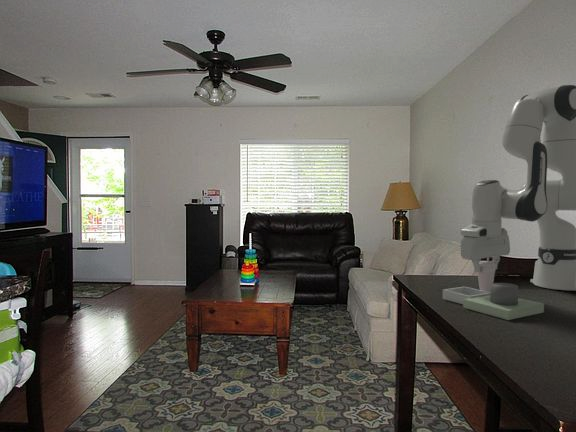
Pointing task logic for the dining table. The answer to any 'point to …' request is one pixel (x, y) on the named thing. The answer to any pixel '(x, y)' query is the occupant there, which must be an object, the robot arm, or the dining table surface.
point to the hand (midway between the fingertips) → (485, 270)
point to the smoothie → (486, 274)
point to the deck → (502, 309)
